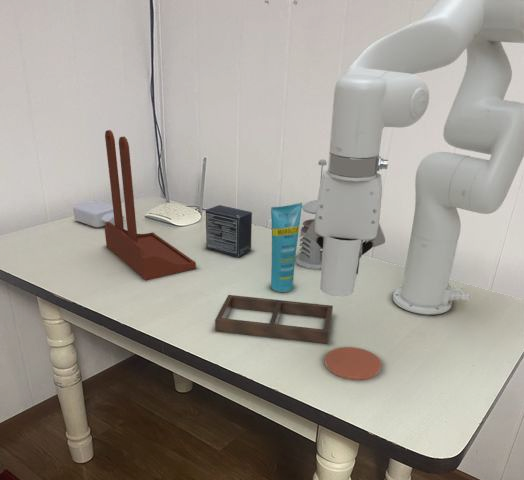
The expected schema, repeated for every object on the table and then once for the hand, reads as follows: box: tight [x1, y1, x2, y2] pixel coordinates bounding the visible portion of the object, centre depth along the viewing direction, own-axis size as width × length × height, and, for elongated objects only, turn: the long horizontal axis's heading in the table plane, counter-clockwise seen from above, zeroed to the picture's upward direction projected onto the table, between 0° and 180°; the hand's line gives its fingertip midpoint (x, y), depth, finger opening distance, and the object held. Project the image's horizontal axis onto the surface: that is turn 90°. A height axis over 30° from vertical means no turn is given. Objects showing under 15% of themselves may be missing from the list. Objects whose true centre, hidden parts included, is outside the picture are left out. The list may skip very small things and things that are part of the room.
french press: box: [295, 158, 328, 270], centre depth 135 cm, size 10×12×25 cm
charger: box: [73, 199, 125, 229], centre depth 160 cm, size 5×9×15 cm
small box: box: [205, 204, 253, 258], centre depth 145 cm, size 11×6×10 cm, turn 58°
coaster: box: [324, 346, 382, 381], centre depth 101 cm, size 10×10×1 cm
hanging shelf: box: [103, 129, 197, 281], centre depth 133 cm, size 24×13×30 cm, turn 34°
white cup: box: [319, 236, 363, 297], centre depth 94 cm, size 7×7×10 cm
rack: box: [214, 294, 334, 344], centre depth 113 cm, size 22×12×2 cm, turn 80°
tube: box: [270, 202, 303, 293], centre depth 123 cm, size 7×5×19 cm, turn 123°
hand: (341, 275), depth 96 cm, fingers closed on white cup, 2 cm apart
